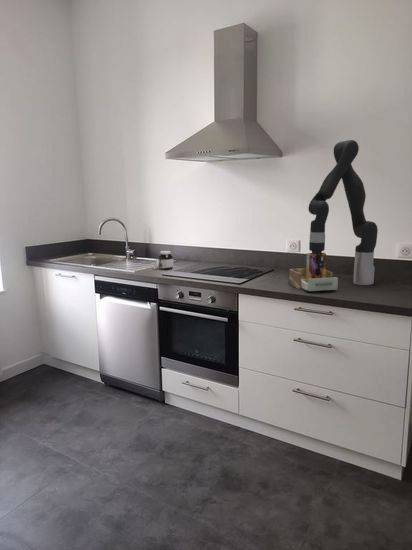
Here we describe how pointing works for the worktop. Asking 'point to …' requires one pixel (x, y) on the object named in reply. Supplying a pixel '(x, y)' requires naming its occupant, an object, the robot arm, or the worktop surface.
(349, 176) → the robot arm
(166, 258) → the spread jar
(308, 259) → the candy box
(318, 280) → the white boxy piece
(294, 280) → the caddy
